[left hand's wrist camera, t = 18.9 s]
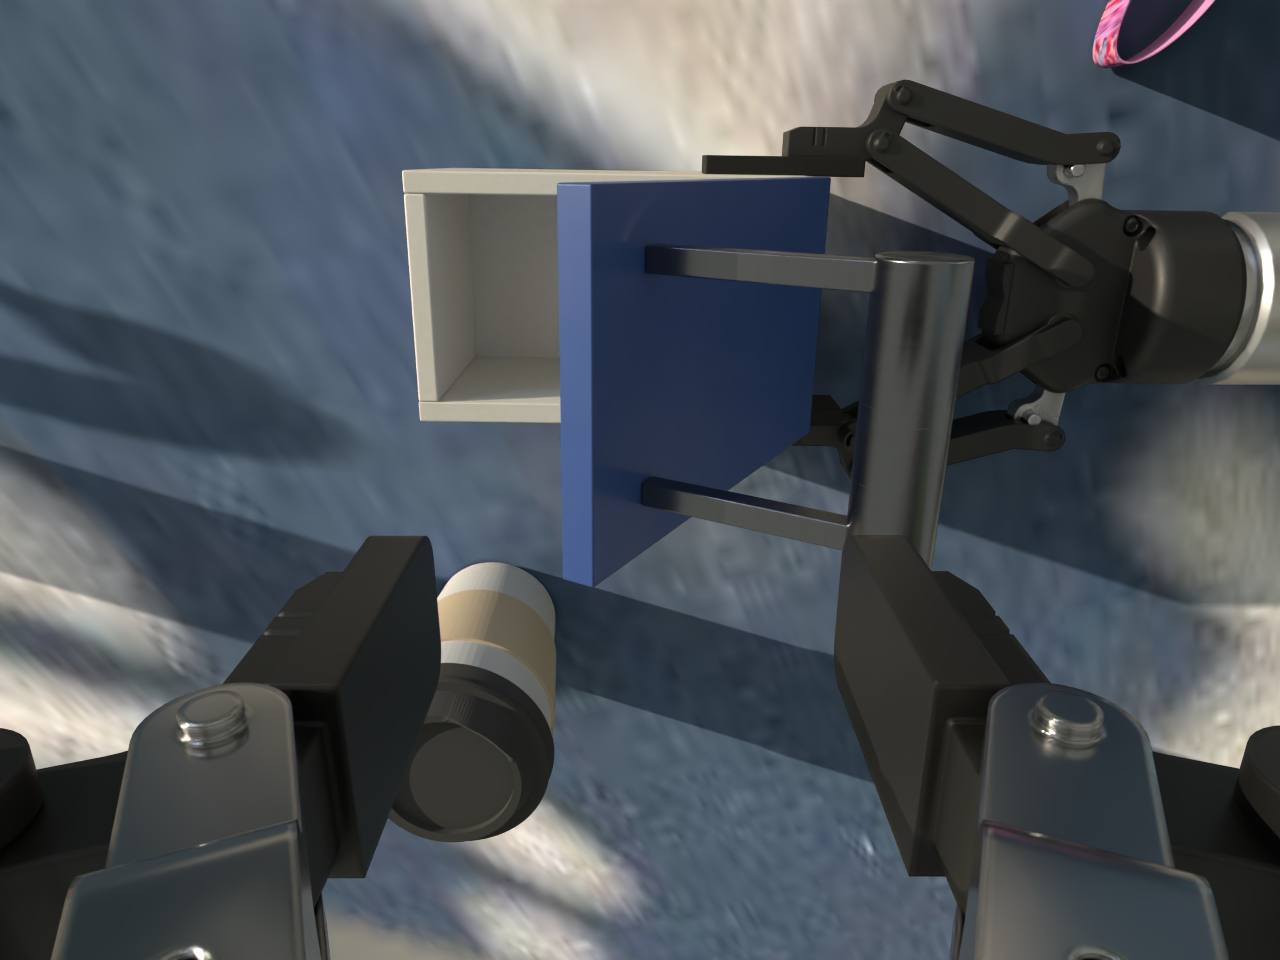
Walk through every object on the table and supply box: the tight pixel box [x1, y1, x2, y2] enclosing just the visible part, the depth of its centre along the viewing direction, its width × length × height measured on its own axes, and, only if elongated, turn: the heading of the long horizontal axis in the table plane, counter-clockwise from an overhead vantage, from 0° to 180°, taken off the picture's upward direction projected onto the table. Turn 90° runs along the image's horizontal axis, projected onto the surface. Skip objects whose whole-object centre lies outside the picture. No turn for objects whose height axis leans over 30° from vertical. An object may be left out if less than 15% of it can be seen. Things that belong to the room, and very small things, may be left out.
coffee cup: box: [388, 562, 556, 842], centre depth 44 cm, size 9×9×15 cm
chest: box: [402, 168, 811, 423], centre depth 40 cm, size 16×10×10 cm, turn 89°
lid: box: [557, 177, 975, 587], centre depth 26 cm, size 17×10×9 cm
